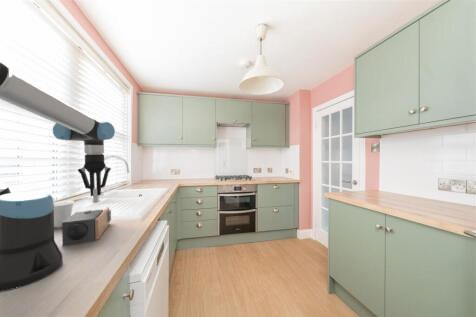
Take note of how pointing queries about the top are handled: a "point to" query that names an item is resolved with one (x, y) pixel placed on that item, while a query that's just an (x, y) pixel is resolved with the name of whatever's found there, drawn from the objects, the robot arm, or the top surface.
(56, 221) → the cup
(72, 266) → the top surface
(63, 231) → the camera housing
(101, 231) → the door
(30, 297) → the top surface
